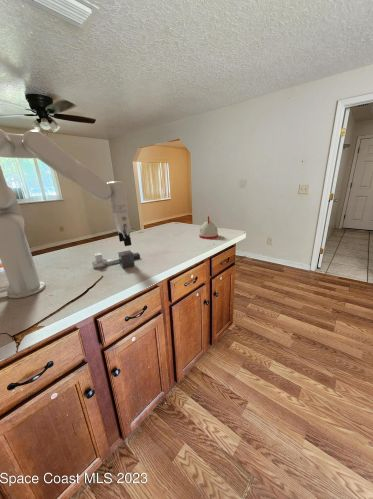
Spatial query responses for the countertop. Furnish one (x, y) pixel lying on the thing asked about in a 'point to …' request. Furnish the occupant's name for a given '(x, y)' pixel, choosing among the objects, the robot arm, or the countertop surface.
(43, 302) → the countertop surface
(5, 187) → the robot arm
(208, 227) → the grey bell
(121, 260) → the socket
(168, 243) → the countertop surface
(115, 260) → the ratchet
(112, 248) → the countertop surface
